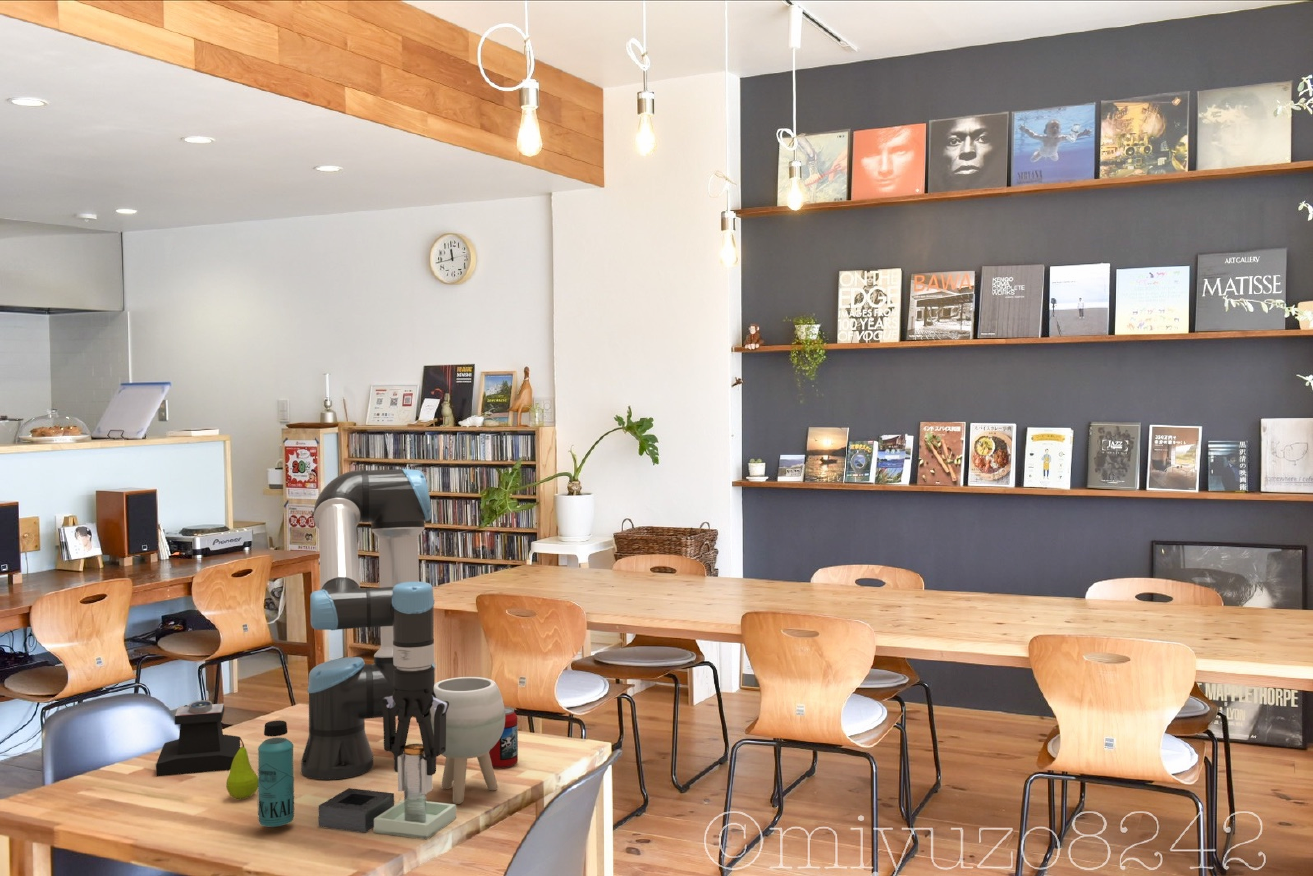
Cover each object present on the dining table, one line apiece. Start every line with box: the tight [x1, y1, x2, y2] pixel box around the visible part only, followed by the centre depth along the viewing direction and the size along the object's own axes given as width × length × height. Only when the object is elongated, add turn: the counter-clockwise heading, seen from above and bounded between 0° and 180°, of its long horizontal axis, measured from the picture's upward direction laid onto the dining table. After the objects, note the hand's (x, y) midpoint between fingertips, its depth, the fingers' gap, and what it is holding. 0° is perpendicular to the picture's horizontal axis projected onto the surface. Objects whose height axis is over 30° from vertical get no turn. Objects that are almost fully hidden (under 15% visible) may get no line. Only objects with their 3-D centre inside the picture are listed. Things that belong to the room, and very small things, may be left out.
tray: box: [373, 799, 457, 841], centre depth 209 cm, size 11×11×3 cm
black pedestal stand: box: [155, 699, 241, 777], centre depth 246 cm, size 16×14×15 cm
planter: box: [430, 676, 505, 805], centre depth 225 cm, size 16×16×22 cm
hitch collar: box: [318, 787, 395, 834], centre depth 211 cm, size 10×10×4 cm
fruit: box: [226, 737, 258, 801], centre depth 224 cm, size 6×6×12 cm
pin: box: [403, 743, 427, 823], centre depth 208 cm, size 4×4×14 cm
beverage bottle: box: [257, 719, 296, 828], centre depth 207 cm, size 6×7×20 cm
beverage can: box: [489, 706, 519, 769], centre depth 244 cm, size 7×7×12 cm
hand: (415, 790), depth 208 cm, fingers open, 4 cm apart
